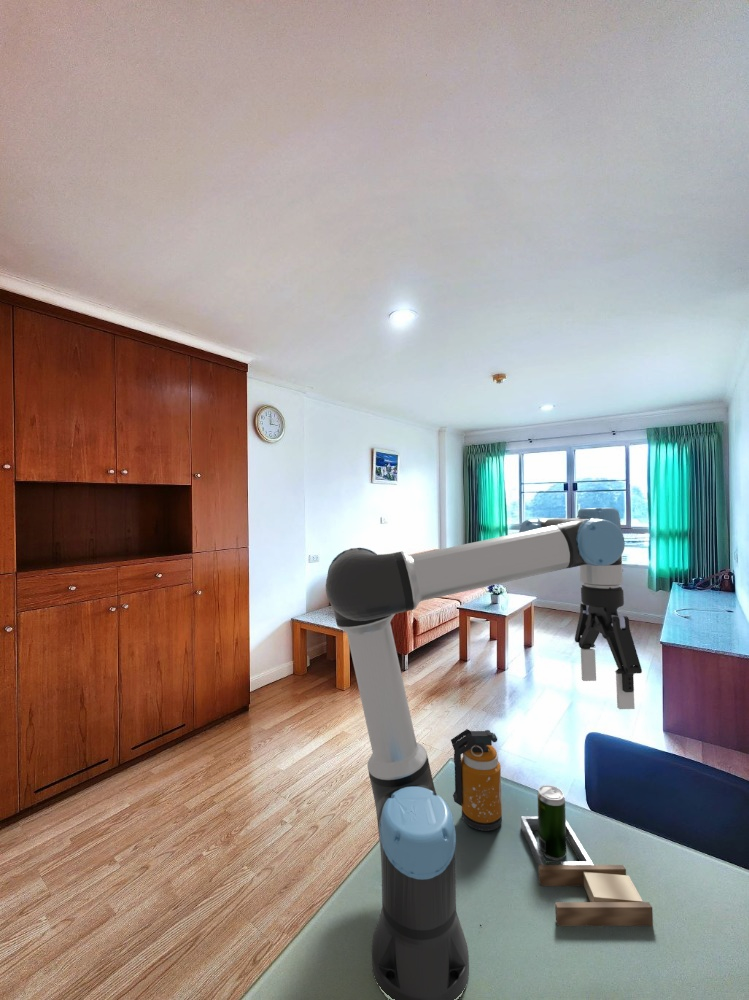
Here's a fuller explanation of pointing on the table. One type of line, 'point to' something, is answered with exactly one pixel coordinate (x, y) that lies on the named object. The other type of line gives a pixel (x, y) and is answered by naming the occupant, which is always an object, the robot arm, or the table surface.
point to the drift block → (610, 888)
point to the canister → (478, 779)
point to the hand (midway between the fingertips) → (606, 693)
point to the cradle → (532, 824)
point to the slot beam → (593, 910)
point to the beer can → (551, 822)
